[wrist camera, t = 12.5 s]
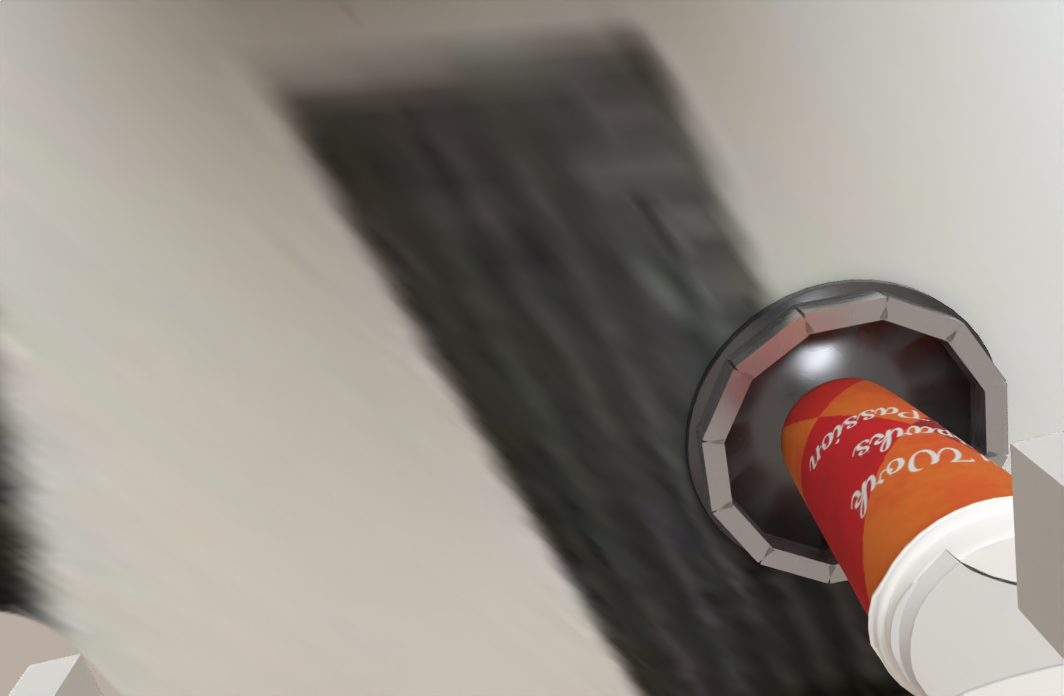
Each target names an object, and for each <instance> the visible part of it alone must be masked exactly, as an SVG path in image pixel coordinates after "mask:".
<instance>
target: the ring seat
mask: <svg viewBox="0 0 1064 696" xmlns="http://www.w3.org/2000/svg"><path fill="white" fill-rule="evenodd" d="M841 378H859V379H864V380H868V381H871V382H874V383H876V384H878V385H880V386H882V387H884V388H886V389H887V390H889V391H891V392H892V393H894V394H895V395H897V396H898V397H900V398H901V399H903V400H904V401H906V402H907V403H909V404H910V405H912V406H913V407H915V408H916V409H918V410H919V411H921V412H922V413H923V414H925V415H926V416H928V417H929V418H931V419H932V420H934V421H935V422H936V423H938V424H939V425H941V426H942V427H944V428H945V429H947V430H948V431H949V432H951V433H952V434H954V435H955V436H957V437H958V438H959V439H961V440H962V441H964V442H965V443H967V444H968V445H969V446H971V447H972V448H974V449H975V450H977V451H978V452H979V453H981V454H982V455H984V456H985V457H986V458H988V459H989V460H991V461H992V462H994V463H995V464H996V465H998V466H999V467H1002V466H1003V464H1004V462H1005V460H1006V459H1007V456H1006V454H1008V412H1007V383H1006V382H1005V381H1006V380H1005V378H1004V377H1003V376H1002V374H1001V373H1000V372H999V370H998V369H997V368H996V366H995V365H994V363H993V361H992V359H991V357H990V354H989V352H988V350H987V348H986V347H985V345H984V344H983V342H982V340H981V339H980V337H979V336H978V334H977V333H976V332H975V331H974V330H973V329H972V327H971V326H970V325H969V324H968V323H967V322H966V321H965V320H964V319H963V318H962V317H961V316H959V315H958V314H957V313H956V312H955V311H953V310H952V309H951V308H949V307H948V306H946V305H944V304H943V303H941V302H939V301H938V300H936V299H935V298H933V297H931V296H929V295H927V294H925V293H922V292H920V291H918V290H915V289H913V288H911V287H907V286H903V285H900V284H896V283H892V282H885V281H877V280H844V281H837V282H829V283H825V284H821V285H817V286H813V287H810V288H806V289H804V290H801V291H798V292H796V293H793V294H791V295H788V296H786V297H784V298H782V299H780V300H779V301H777V302H775V303H773V304H771V305H769V306H767V307H766V308H765V309H763V310H762V311H760V312H759V313H757V314H756V315H755V316H753V317H752V318H750V319H749V320H748V321H747V322H746V323H744V324H743V325H742V326H741V327H740V328H739V329H738V330H737V331H736V332H734V333H733V334H732V335H731V337H730V338H729V339H728V340H727V341H726V342H725V343H724V345H723V346H722V347H721V348H720V349H719V350H718V352H717V353H716V355H715V356H714V358H713V359H712V361H711V362H710V364H709V365H708V367H707V368H706V370H705V372H704V374H703V376H702V378H701V380H700V382H699V384H698V386H697V389H696V392H695V395H694V398H693V400H692V403H691V407H690V412H689V417H688V422H687V433H686V450H687V461H688V466H689V470H690V475H691V479H692V481H693V484H694V486H695V489H696V491H697V494H698V496H699V498H700V501H701V502H702V504H703V506H704V508H705V509H706V511H707V513H708V515H709V516H710V517H711V519H712V520H713V521H714V522H715V524H716V525H717V526H718V527H719V529H720V530H721V531H722V532H723V533H724V534H725V535H726V536H728V537H729V538H730V539H731V540H732V541H733V542H734V543H736V544H737V545H738V546H740V547H741V548H743V549H744V550H746V551H747V552H749V554H750V555H751V556H752V557H753V558H754V559H755V560H756V561H757V562H759V563H760V564H761V565H765V566H768V567H772V568H775V569H779V570H782V571H786V572H789V573H793V574H796V575H800V576H803V577H807V578H810V579H814V580H817V581H821V582H824V583H828V581H829V582H830V584H831V583H836V582H841V581H846V580H848V579H847V577H846V576H845V574H844V572H843V570H842V568H841V567H840V565H839V563H838V561H837V559H836V558H835V556H834V554H833V552H832V550H831V549H830V547H829V545H828V543H827V541H826V540H825V538H824V536H823V534H822V532H821V530H820V529H819V527H818V525H817V523H816V521H815V520H814V518H813V516H812V514H811V512H810V510H809V509H808V507H807V505H806V503H805V501H804V499H803V497H802V496H801V494H800V492H799V490H798V488H797V486H796V484H795V482H794V480H793V478H792V476H791V475H790V473H789V470H788V468H787V466H786V463H785V461H784V458H783V454H782V449H781V434H782V429H783V426H784V423H785V420H786V418H787V416H788V414H789V412H790V411H791V409H792V408H793V406H794V405H795V404H796V403H797V402H798V400H799V399H800V398H801V397H803V396H804V395H805V394H806V393H807V392H809V391H810V390H812V389H813V388H815V387H817V386H819V385H821V384H823V383H826V382H828V381H832V380H836V379H841Z"/></svg>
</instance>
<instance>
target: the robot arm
mask: <svg viewBox="0 0 1064 696" xmlns="http://www.w3.org/2000/svg"><path fill="white" fill-rule="evenodd" d="M1010 448H1011V470H1012V491H1013V513H1014V534H1015V555H1016V577H1017V598H1018V609H1019V610H1020V611H1021V612H1022V613H1023V615H1024V616H1025V617H1026V618H1027V619H1028V620H1029V621H1030V622H1031V623H1032V625H1033V626H1034V627H1035V628H1036V629H1037V630H1038V631H1039V632H1040V634H1041V635H1042V636H1043V637H1044V638H1045V639H1046V640H1047V641H1048V642H1049V644H1050V645H1051V646H1052V647H1053V648H1054V649H1055V650H1056V651H1057V652H1058V654H1059V655H1060V656H1061V657H1062V658H1063V659H1064V431H1061V432H1057V433H1052V434H1048V435H1044V436H1039V437H1035V438H1030V439H1026V440H1021V441H1017V442H1013V443H1010ZM8 696H103V695H102V693H101V691H100V689H99V687H98V685H97V683H96V681H95V679H94V677H93V675H92V673H91V671H90V670H89V668H88V666H87V664H86V662H85V660H84V658H83V656H82V654H77V655H72V656H68V657H64V658H59V659H55V660H50V661H46V662H42V663H38V664H33V665H29V667H28V668H27V669H26V671H25V672H24V674H23V675H22V676H21V678H20V679H19V681H18V682H17V684H16V685H15V686H14V688H13V689H12V690H11V692H10V693H9V695H8Z"/></svg>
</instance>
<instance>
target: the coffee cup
mask: <svg viewBox="0 0 1064 696" xmlns="http://www.w3.org/2000/svg"><path fill="white" fill-rule="evenodd" d="M781 449H782V454H783V458H784V461H785V463H786V466H787V468H788V470H789V473H790V475H791V476H792V478H793V480H794V482H795V484H796V486H797V488H798V490H799V492H800V494H801V496H802V497H803V499H804V501H805V503H806V505H807V507H808V509H809V510H810V512H811V514H812V516H813V518H814V520H815V521H816V523H817V525H818V527H819V529H820V530H821V532H822V534H823V536H824V538H825V540H826V541H827V543H828V545H829V547H830V549H831V550H832V552H833V554H834V556H835V558H836V559H837V561H838V563H839V565H840V567H841V568H842V570H843V572H844V574H845V576H846V577H847V579H848V581H849V583H850V585H851V586H852V588H853V590H854V592H855V594H856V595H857V597H858V599H859V601H860V603H861V604H862V606H863V608H864V610H865V612H866V613H867V615H868V632H869V638H870V644H871V646H872V647H873V649H874V650H875V652H876V653H877V655H878V656H879V658H880V659H881V661H882V662H883V664H884V666H885V667H886V669H887V670H888V672H889V674H890V675H891V676H892V677H893V678H894V679H895V680H896V681H897V682H898V683H899V684H900V685H901V686H902V687H904V688H905V689H906V690H908V691H909V692H910V693H912V694H913V695H915V696H1064V659H1063V658H1062V657H1061V656H1060V655H1059V654H1058V652H1057V651H1056V650H1055V649H1054V648H1053V647H1052V646H1051V645H1050V644H1049V642H1048V641H1047V640H1046V639H1045V638H1044V637H1043V636H1042V635H1041V634H1040V632H1039V631H1038V630H1037V629H1036V628H1035V627H1034V626H1033V625H1032V623H1031V622H1030V621H1029V620H1028V619H1027V618H1026V617H1025V616H1024V615H1023V613H1022V612H1021V611H1020V610H1019V609H1018V598H1017V577H1016V555H1015V534H1014V513H1013V491H1012V475H1011V474H1009V473H1008V472H1006V471H1005V470H1004V469H1002V468H1001V467H999V466H998V465H996V464H995V463H994V462H992V461H991V460H989V459H988V458H986V457H985V456H984V455H982V454H981V453H979V452H978V451H977V450H975V449H974V448H972V447H971V446H969V445H968V444H967V443H965V442H964V441H962V440H961V439H959V438H958V437H957V436H955V435H954V434H952V433H951V432H949V431H948V430H947V429H945V428H944V427H942V426H941V425H939V424H938V423H936V422H935V421H934V420H932V419H931V418H929V417H928V416H926V415H925V414H923V413H922V412H921V411H919V410H918V409H916V408H915V407H913V406H912V405H910V404H909V403H907V402H906V401H904V400H903V399H901V398H900V397H898V396H897V395H895V394H894V393H892V392H891V391H889V390H887V389H886V388H884V387H882V386H880V385H878V384H876V383H874V382H871V381H868V380H864V379H859V378H841V379H836V380H832V381H828V382H826V383H823V384H821V385H819V386H817V387H815V388H813V389H812V390H810V391H809V392H807V393H806V394H805V395H804V396H803V397H801V398H800V399H799V400H798V402H797V403H796V404H795V405H794V406H793V408H792V409H791V411H790V412H789V414H788V416H787V418H786V420H785V423H784V426H783V429H782V434H781Z"/></svg>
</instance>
